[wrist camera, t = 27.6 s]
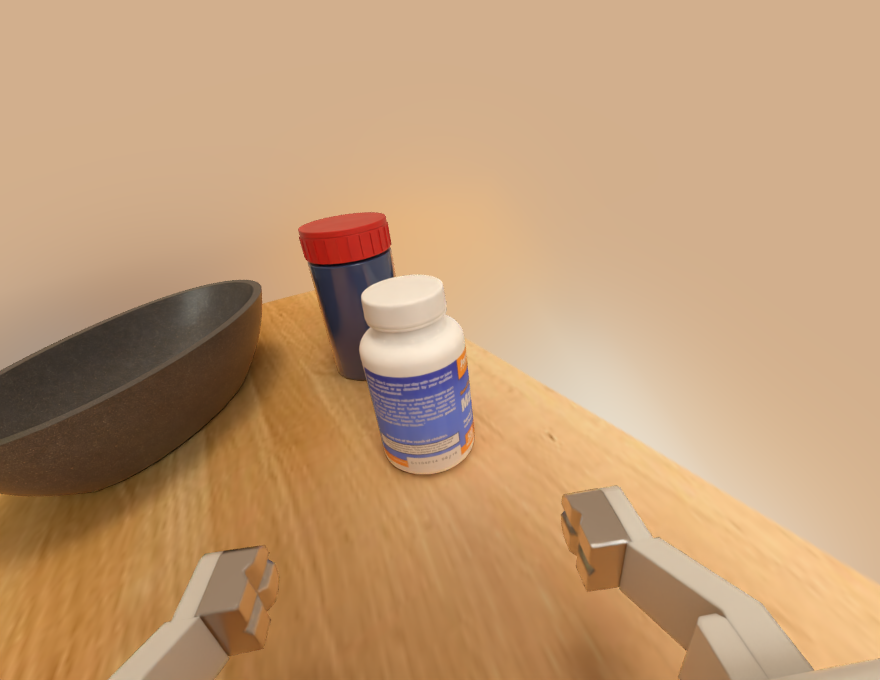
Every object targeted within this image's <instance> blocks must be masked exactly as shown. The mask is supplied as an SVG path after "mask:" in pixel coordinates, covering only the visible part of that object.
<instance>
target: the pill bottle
mask: <svg viewBox="0 0 880 680" xmlns="http://www.w3.org/2000/svg"><path fill="white" fill-rule="evenodd" d="M361 302H362V307H363V312H364V318H365V320H366V322H367V324H368V326H370V328H369V329H368V330H367V331H366V332H365V334H364V335H363V337H362V339H361V342H360V346H359V352H360V357H361V361H362V365H363V369H364V372H365V376H366V380H367V384H368V388H369V391H370V395H371V399H372V403H373V406H374V410H375V414H376V418H377V422H378V426H379V431H380V435H381V439H382V443H383V447H384V451H385V454H386V456H387V458H388V459H389V461H390V462H391V463H392V464H393V465H394V466H395V467H397V468H399V469H401V470H403V471H405V472H409V473H413V474H434V473H439V472H443V471H445V470H448V469H450V468H452V467H454V466H456V465H457V464H459V463H460V462H461V461H462V460H464V459H465V457H466V456H467V455H468V454H469V452H470V450H471V448H472V446H473V443H474V422H473V413H472V403H471V394H470V384H469V375H468V366H467V356H466V347H465V339H464V333H463V330H462V328H461V326H460V325H459V323H458V322H457V321H456V320H454V319H453V318H451V317H450V316H448V315H445V313H446V310H447V309H446V299H445V293H444V287H443V283H442V282H441V280H440V279H438V278H436V277H433V276H428V275H406V276H399V277H394V278H389V279H386V280H383V281H380V282H378V283H375V284H373V285H371V286H370V287H368V288H367V289H365V290H364V292H363V293H362V295H361Z"/></svg>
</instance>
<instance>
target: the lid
mask: <svg viewBox="0 0 880 680" xmlns="http://www.w3.org/2000/svg"><path fill="white" fill-rule="evenodd" d="M298 231H299V235H300V237H299V239H300V243H301V246H302V250H303V253H304V257H305V258H306V260H307V261H308V262H310V263H314V264H340V263H347V262H353V261H358V260H362V259H366V258H370V257H373V256H375V255H378V254H380V253H382V252H384V251H386V250H387V249H388V248H389V247H390V245H391V239H390V234H389V228H388V222H386V216H385V215H384V214H382V213H374V212H372V213H371V212H368V213H353V214H345V215H339V216H333V217H329V218H324V219H320V220H316V221H313V222H310V223H307V224H305V225H303V226H301V227H300V228H299V229H298Z"/></svg>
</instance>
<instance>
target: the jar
mask: <svg viewBox="0 0 880 680" xmlns="http://www.w3.org/2000/svg"><path fill="white" fill-rule="evenodd" d="M308 266H309V270H310V273H311V277H312V280H313V284H314V288H315V291H316V295H317V298H318V302H319V306H320V309H321V313H322V316H323V320H324V323H325V327H326V331H327V334H328V338H329V341H330V345H331V349H332V352H333V356H334V359H335V363H336V367H337V370H338V372H339V373H340V374H341V375H342V376H344V377H346V378H349V379H353V380H366V376H365V372H364V369H363V365H362V361H361V357H360V352H359V346H360V342H361V339H362V337H363V335H364V334H365V332H366V331H367V330H368V329H369V328H370V326H368V324H367V322H366V320H365V318H364V312H363V307H362V302H361V295H362V293H363V292H364V290H365V289H367V288H368V287H370V286H371V285H373V284H375V283H378V282H380V281H383V280H386V279H389V278H394V277H396V275H395V269H394V263H393V258H392V252H391V248H390V247H389V248H388V249H387V250H386V251H384V252H382V253H380V254H378V255H375V256H373V257H370V258H366V259H362V260H358V261H353V262H347V263H340V264H314V263H310V262H308Z"/></svg>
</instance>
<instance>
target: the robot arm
mask: <svg viewBox="0 0 880 680" xmlns="http://www.w3.org/2000/svg"><path fill="white" fill-rule="evenodd" d="M562 506H563V508H564V510H565V511H564V512H563V513H562V514H561V526H562V531H563V535H564V538H565V541H566V544H567V546H568V549H569V551H570V552H572V553H573V554H574V555H576V556H577V560H576V568H577V570H578V572H579V575H580V577H581V579H582V582H583V584H584V586H585V589H586V591H587V592H589V591H596V590H603V589H610V588H617V587H619V589H620V590H621V591H622V592H623V593H624V594H625V595H626V596H627V597H628V598H629V599H631V600H632V601H633V602H634V603H635V604H636V605H637V606H638V607H639V608H640V609H641V610H643V611H644V612H645V613H646V614H647V615H648V616H649V617H650V618H651V619H652V620H653V621H655V622H656V623H657V624H658V625H659V626H660V627H661V628H662V629H663V630H664V631H665V632H667V633H668V634H669V635H670V636H671V637H672V638H673V639H674V640H675V641H676V642H677V643H679V644H680V645H681V646H682V647H683V648H684V649H685V650H686V651H687V652H686V655H685V658H684V661H683V663H682V666H681V669H680V672H679V675H678V678H679V680H880V658H878V659H873V660H867V661H862V662H857V663H851V664H846V665H841V666H835V667H830V668H825V669H820V670H814V669H813V668H812V666H811V665H810V664H809V663H808V661H807V660H806V659H805V658H804V656H803V655H802V654H801V652H800V651H799V650H798V649H797V647H796V646H795V645H794V644H793V642H792V641H791V640H790V638H789V637H788V636H787V635H786V633H785V632H784V631H783V630H782V628H781V627H780V626H779V625H778V623H777V622H776V621H775V619H774V618H773V617H772V616H771V614H770V613H769V612H768V611H767V609H766V608H765V607H764V605H763V604H762V603H760V602H759V601H757V600H756V599H754V598H753V597H751V596H749V595H748V594H746V593H745V592H743V591H742V590H740V589H739V588H737V587H735V586H734V585H732V584H731V583H729V582H728V581H726V580H725V579H723V578H721V577H720V576H718V575H717V574H715V573H714V572H712V571H711V570H709V569H707V568H706V567H704V566H703V565H701V564H700V563H698V562H697V561H695V560H693V559H692V558H690V557H689V556H687V555H686V554H684V553H683V552H681V551H679V550H678V549H676V548H675V547H673V546H672V545H670V544H669V543H667V542H665V541H664V540H662V539H661V538H659V537H657V538H653V537H652V535H651V534H650V532H649V531H648V529H647V528H646V526H645V524H644V523H643V521H642V520H641V518H640V517H639V515H638V514H637V512H636V511H635V509H634V508H633V506H632V505H631V503H630V502H629V500H628V498H627V497H626V495H625V494H624V492H623V491H622V489H621V488H620V487H618V486H610V487H604V488H599V489H598V488H596V489H590V490H585V491H579V492H574V493H568V494H564V495H563V496H562ZM269 553H270V552H269V551H268V549H267V547H266V546H265V545H262V546H254V547H247V548H240V549H233V550H226V551H219V552H213V553H207V554H204V556H203V557H202V558H201V559H200V560H199V562H198V564H197V566H196V568H195V570H194V572H193V575H192V577H191V579H190V581H189V583H188V585H187V587H186V590H185V592H184V594H183V596H182V598H181V600H180V603H179V605H178V607H177V609H176V611H175V613H174V615H173V618H172V620H171V621H170V622H165V623H164V624H163V625H162V626H161V627H160V628H159V629H158V630H157V631H156V632H155V633H154V634H153V635H152V636H151V637H150V638H149V639H148V640H147V641H146V642H145V643H144V644H143V645H142V646H141V647H140V648H139V649H138V650H137V651H136V652H135V653H134V654H133V655H132V656H131V657H130V658H129V659H128V660H127V661H126V662H125V663H124V664H123V665H122V666H121V667H120V668H119V669H118V670H117V671H116V672H115V673H114V674H113V675H112V676H111V677H110V678H109V679H108V680H215V678H216V677H217V675H218V674H219V672H220V671H221V670H222V668H223V667H224V665H225V664H226V662H227V661H228V660H229V657H228V656H232V655H237V654H242V653H247V652H252V651H257V650H261V649H264V645H265V641H266V637H267V633H268V630H269V626H270V622H271V619H270V616H269V614H268V612H267V611H268V610H269V609H270V608H271V607H272V605H273V604H274V603H275V602H276V598H277V594H278V590H279V573H278V569H277V566H276V564H275V563H274V562H272V561H270V560H268V556H269Z"/></svg>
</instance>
